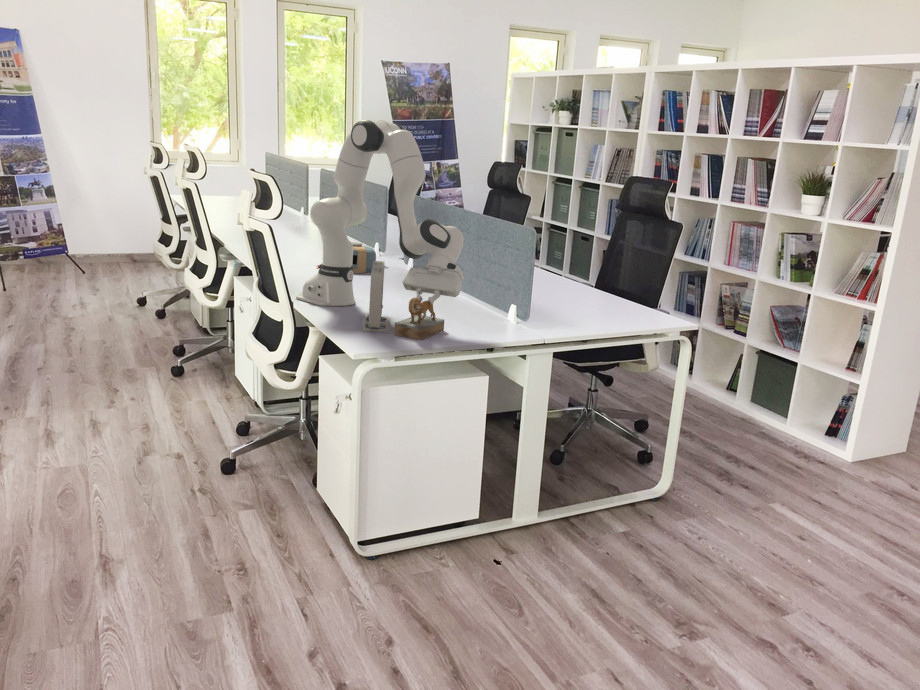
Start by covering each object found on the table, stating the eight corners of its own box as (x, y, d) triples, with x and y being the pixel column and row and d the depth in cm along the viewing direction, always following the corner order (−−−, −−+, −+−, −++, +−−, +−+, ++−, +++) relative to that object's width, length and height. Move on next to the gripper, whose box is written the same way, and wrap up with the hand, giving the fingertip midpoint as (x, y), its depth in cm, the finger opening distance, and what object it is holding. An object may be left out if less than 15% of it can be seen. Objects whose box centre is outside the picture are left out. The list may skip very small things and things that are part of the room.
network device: (364, 315, 284) (367, 259, 279) (389, 316, 285) (392, 261, 279) (361, 333, 259) (363, 272, 254) (388, 334, 260) (391, 274, 255)
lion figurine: (418, 327, 256) (419, 299, 254) (403, 324, 258) (405, 297, 256) (438, 319, 269) (440, 293, 267) (424, 316, 271) (425, 290, 269)
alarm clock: (326, 269, 364) (327, 243, 361) (344, 263, 382) (345, 238, 379) (364, 274, 359) (366, 248, 356) (381, 268, 377) (383, 243, 374)
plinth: (393, 334, 261) (394, 322, 260) (418, 325, 275) (418, 314, 274) (420, 340, 257) (421, 328, 256) (443, 330, 271) (444, 319, 270)
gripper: (409, 259, 270) (393, 292, 264) (463, 266, 262) (448, 300, 256) (414, 271, 275) (399, 303, 269) (468, 278, 267) (453, 311, 261)
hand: (423, 302), depth 263 cm, fingers closed on lion figurine, 3 cm apart
